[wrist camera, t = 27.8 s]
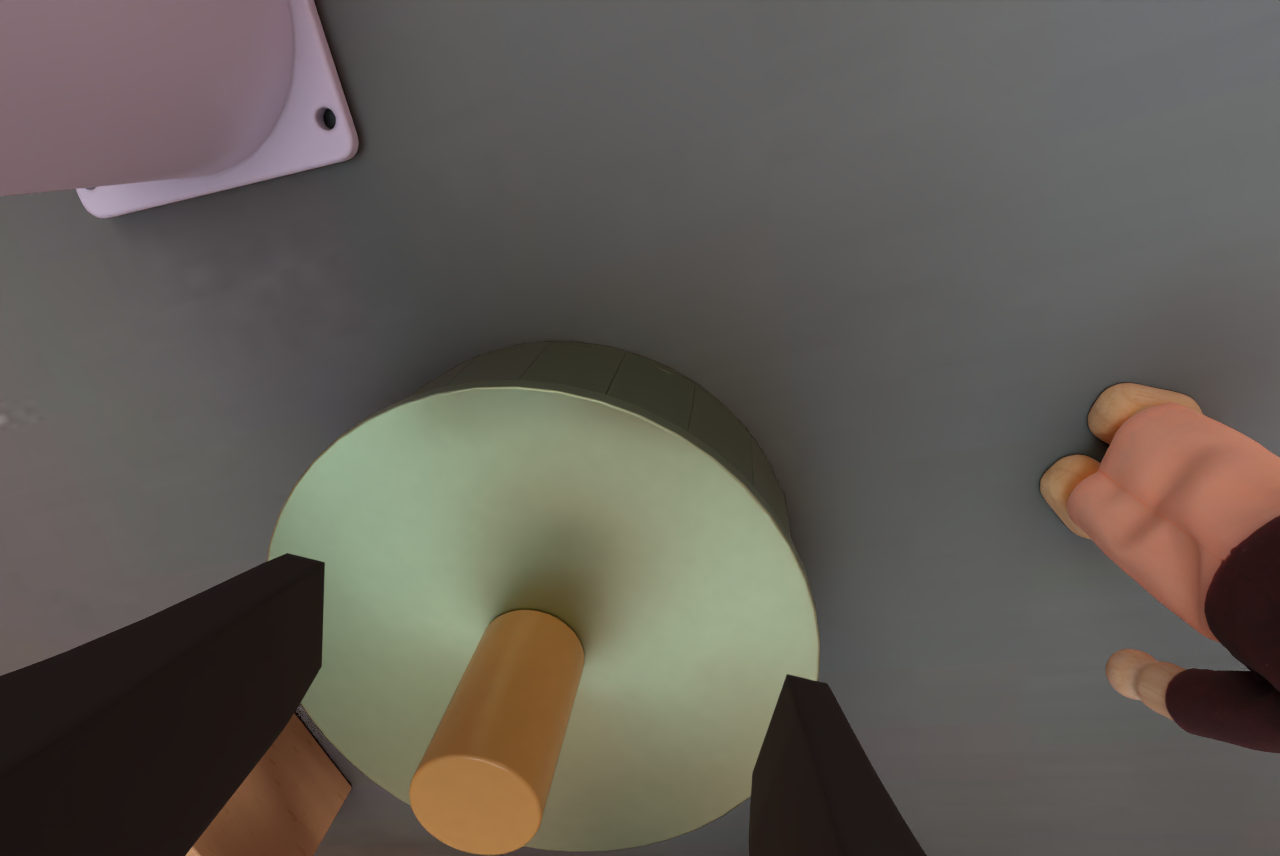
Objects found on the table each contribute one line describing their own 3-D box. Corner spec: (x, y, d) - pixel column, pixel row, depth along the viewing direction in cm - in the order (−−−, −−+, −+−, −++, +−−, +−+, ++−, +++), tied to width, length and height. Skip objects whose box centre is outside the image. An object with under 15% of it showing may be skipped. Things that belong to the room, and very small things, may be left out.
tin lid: (246, 706, 22) (94, 889, 16) (356, 271, 16) (180, 340, 11) (679, 880, 22) (663, 1109, 17) (924, 518, 17) (1009, 692, 12)
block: (202, 734, 28) (84, 870, 23) (289, 704, 27) (185, 841, 22) (267, 812, 29) (169, 958, 24) (353, 787, 28) (269, 934, 23)
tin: (308, 382, 22) (210, 442, 18) (753, 301, 19) (759, 348, 15) (442, 726, 26) (389, 837, 22) (816, 695, 24) (833, 813, 20)
